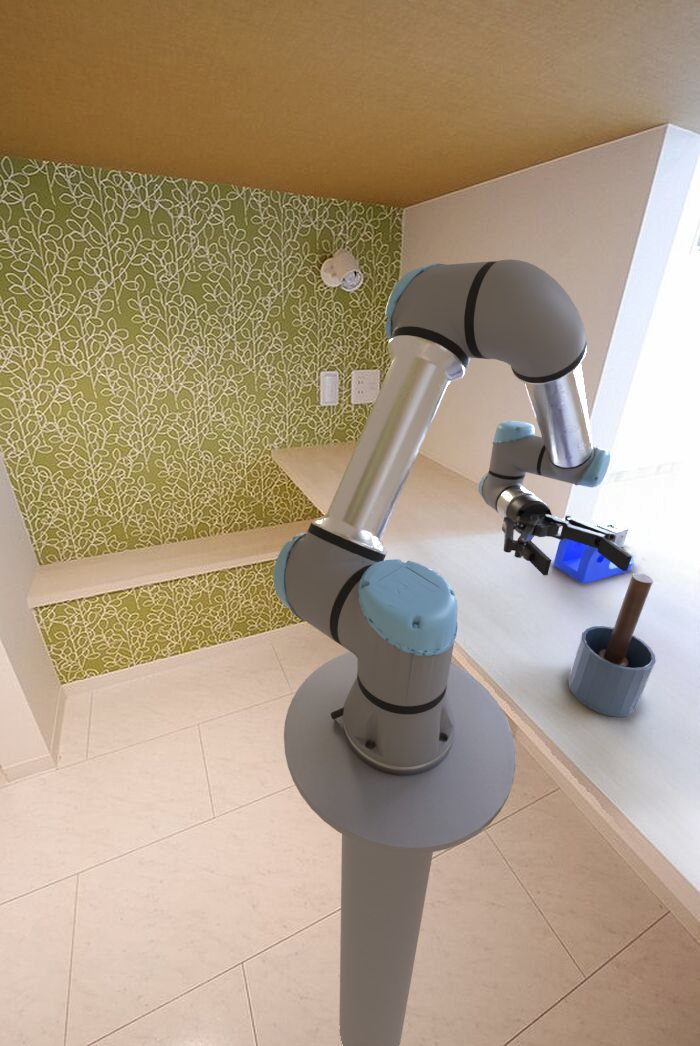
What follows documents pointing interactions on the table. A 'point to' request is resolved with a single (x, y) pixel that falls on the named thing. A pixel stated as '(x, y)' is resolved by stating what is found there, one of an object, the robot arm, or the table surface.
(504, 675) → the table surface
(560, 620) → the table surface
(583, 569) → the bracket
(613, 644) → the muddler
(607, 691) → the blue faceted pencil cup
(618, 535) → the dice cube
